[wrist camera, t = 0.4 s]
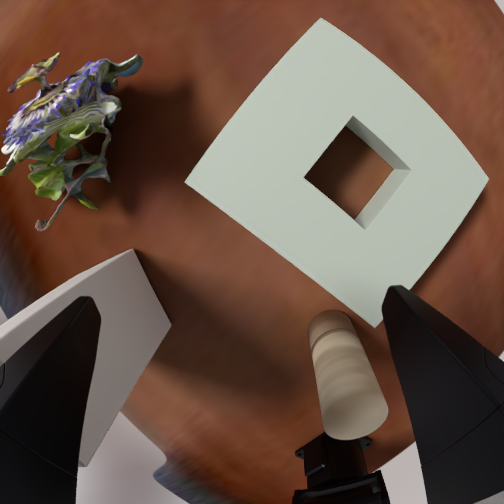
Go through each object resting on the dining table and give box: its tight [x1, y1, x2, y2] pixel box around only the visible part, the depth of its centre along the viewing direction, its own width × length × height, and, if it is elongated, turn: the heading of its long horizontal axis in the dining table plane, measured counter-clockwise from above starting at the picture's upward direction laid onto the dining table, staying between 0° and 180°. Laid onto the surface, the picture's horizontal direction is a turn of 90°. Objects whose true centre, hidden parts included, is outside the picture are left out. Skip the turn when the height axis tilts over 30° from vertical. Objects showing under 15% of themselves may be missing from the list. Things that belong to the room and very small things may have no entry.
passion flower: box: [0, 53, 143, 231], centre depth 16 cm, size 11×11×12 cm
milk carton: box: [0, 249, 172, 467], centre depth 14 cm, size 7×7×19 cm
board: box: [185, 18, 489, 328], centre depth 18 cm, size 16×14×3 cm
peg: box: [308, 310, 388, 440], centre depth 18 cm, size 4×4×10 cm
